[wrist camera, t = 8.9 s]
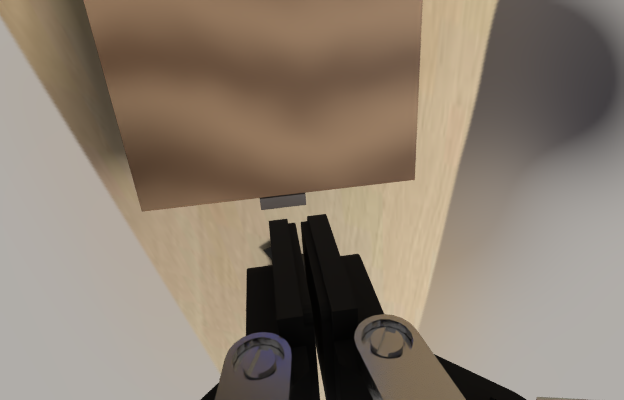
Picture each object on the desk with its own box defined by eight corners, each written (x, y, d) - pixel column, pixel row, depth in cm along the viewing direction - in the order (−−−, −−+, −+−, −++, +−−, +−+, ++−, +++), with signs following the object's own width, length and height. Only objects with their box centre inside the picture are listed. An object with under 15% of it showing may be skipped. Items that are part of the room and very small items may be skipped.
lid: (74, -84, 21) (57, -93, 19) (413, -101, 22) (427, -111, 21) (152, 210, 28) (145, 223, 26) (404, 180, 30) (414, 191, 28)
